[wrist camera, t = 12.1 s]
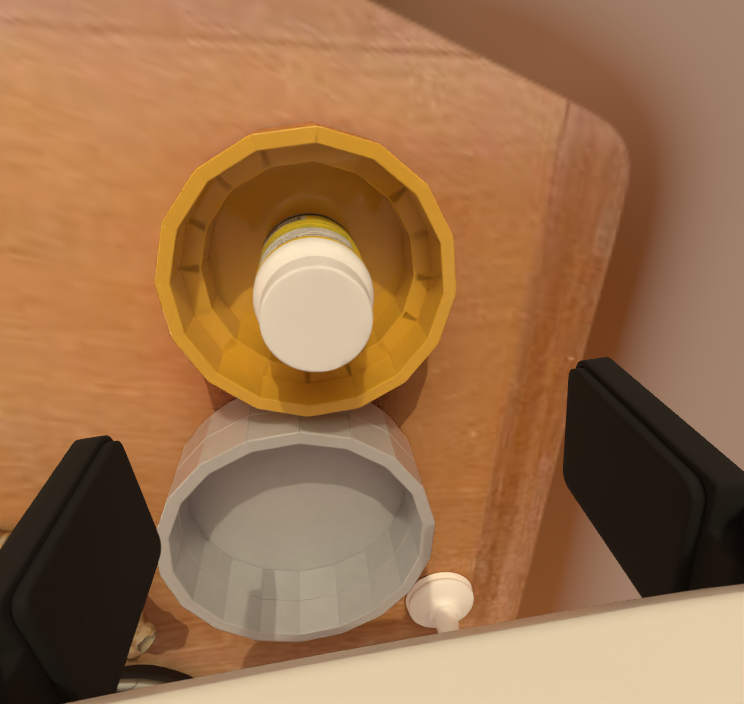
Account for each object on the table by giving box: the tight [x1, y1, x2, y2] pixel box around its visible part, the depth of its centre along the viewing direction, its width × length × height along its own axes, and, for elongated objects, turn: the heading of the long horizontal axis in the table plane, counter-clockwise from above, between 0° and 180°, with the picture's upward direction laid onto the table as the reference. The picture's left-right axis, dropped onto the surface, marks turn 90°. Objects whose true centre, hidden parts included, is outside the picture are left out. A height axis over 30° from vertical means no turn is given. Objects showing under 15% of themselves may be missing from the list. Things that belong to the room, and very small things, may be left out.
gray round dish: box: [157, 398, 435, 642], centre depth 30 cm, size 14×15×5 cm
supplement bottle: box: [253, 213, 374, 372], centre depth 22 cm, size 5×5×8 cm
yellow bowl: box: [154, 123, 456, 417], centre depth 24 cm, size 12×12×5 cm
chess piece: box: [406, 572, 474, 633], centre depth 33 cm, size 5×5×10 cm
